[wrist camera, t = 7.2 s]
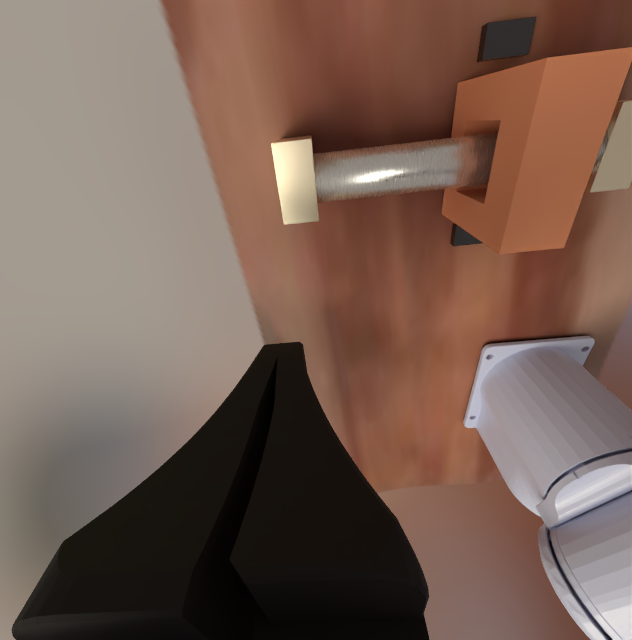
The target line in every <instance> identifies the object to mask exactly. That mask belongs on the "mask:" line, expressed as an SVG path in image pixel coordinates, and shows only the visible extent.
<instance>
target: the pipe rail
mask: <svg viewBox="0 0 632 640" xmlns="http://www.w3.org/2000/svg"><path fill="white" fill-rule="evenodd" d="M535 21H536V17H530V18H523V19H515V20H507V21H500V22H492V23H487V24H485V25H484V26H482V32H481V39H480V46H479V52H478V59H477V62H480V61H488V60H496V59H504V58H511V57H519V56H524V55H527V54H528V53H529V48H530V44H531V39H532V34H533V30H534V25H535ZM498 132H499V131H496V132H495V133H489V134H480V135H471V136H463V137H454V138H445V139H437V140H428V141H420V142H411V143H402V144H394V145H385V146H376V147H368V148H359V149H350V150H342V151H333V152H324V153H316V154H313V146H312V135H310V136H301V137H293V138H284V139H279V140H277V141H275V142H273V143H271V146H272V152H273V159H274V165H275V171H276V178H277V184H278V190H279V197H280V203H281V209H282V216H283V222H284V225H285V224H295V223H304V222H314V221H319V214H318V203H319V202H328V201H338V200H347V199H356V198H365V197H375V196H384V195H393V194H402V193H412V192H421V191H430V190H439V189H449V188H458V187H467V186H477V185H486V184H488V183H489V178H490V172H491V167H492V162H493V157H494V152H495V147H496V142H497V137H498ZM631 181H632V99H630V100H617V103H616V106H615V109H614V111H613V114H612V117H611V120H610V122H609V125H608V128H607V131H606V133H605V136H604V139H603V142H602V144H601V147H600V150H599V153H598V155H597V158H596V161H595V164H594V167H593V169H592V172H591V175H590V178H589V180H588V183H587V186H586V189H585V191H586V192H599V191H609V190H618V189H628V188H629V186H630V183H631ZM450 243H451V244H452V245H453V246H459V245H469V244H479V243H483V242H481V241H480V240H478V239H477V238H475V237H474V236H472V235H471V234H470V233H468V232H467V231H465V230H464V229H462V228H461V227H460V226H458V225H457V224H453V228H452V235H451V242H450Z"/></svg>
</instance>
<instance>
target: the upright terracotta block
mask: <svg viewBox="0 0 632 640" xmlns="http://www.w3.org/2000/svg"><path fill="white" fill-rule="evenodd" d="M631 62H632V47H628V48H620V49H612V50H604V51H597V52H589V53H581V54H573V55H565V56H557V57H549V58H544V59H541V60H537V61H534V62H530V63H527V64H523V65H520V66H516V67H512V68H509V69H505V70H502V71H498V72H495V73H491V74H488V75H484V76H480V77H477V78H473V79H470V80H466V81H463V82H459V83H458V86H457V94H456V102H455V110H454V118H453V126H452V134H451V138H454V137H463V136H471V135H480V134H489V133H495V132H496V131H499V132H498V137H497V142H496V147H495V152H494V157H493V162H492V167H491V172H490V178H489V183H488V184H486V185H477V186H467V187H458V188H449V189H445V191H444V199H443V207H442V215H444V216H445V217H447V218H448V219H450V220H451V221H452V222H454V223H455V224H457V225H458V226H460V227H461V228H462V229H464V230H465V231H467V232H468V233H470V234H471V235H472V236H474V237H475V238H477V239H478V240H480V241H481V242H483V243H484V244H485V245H487V246H488V247H490V248H491V249H493V250H494V251H495V252H497V253H498V254H507V253H517V252H527V251H537V250H548V249H558V248H564V246H565V244H566V241H567V238H568V235H569V233H570V230H571V227H572V224H573V222H574V219H575V216H576V213H577V211H578V208H579V205H580V202H581V200H582V197H583V194H584V191H585V189H586V186H587V183H588V180H589V178H590V175H591V172H592V169H593V167H594V164H595V161H596V158H597V155H598V153H599V150H600V147H601V144H602V142H603V139H604V136H605V133H606V131H607V128H608V125H609V122H610V120H611V117H612V114H613V111H614V109H615V106H616V103H617V100H618V98H619V95H620V92H621V89H622V87H623V84H624V81H625V78H626V76H627V73H628V70H629V67H630V65H631Z"/></svg>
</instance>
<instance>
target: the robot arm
mask: <svg viewBox="0 0 632 640" xmlns="http://www.w3.org/2000/svg"><path fill="white" fill-rule="evenodd" d="M594 343H595V340H594V339H593V338H592V337H590V336H578V337H566V338H554V339H543V340H531V341H519V342H507V343H495V344H488V345H486V346H484V347H483V349H482V352H481V356H480V360H479V364H478V368H477V371H476V375H475V379H474V383H473V387H472V391H471V395H470V398H469V402H468V406H467V410H466V414H465V418H464V422H463V423H464V425H465V427H467V428H477V430H478V432H479V433H480V435H481V437H482V439H483V441H484V443H485V445H486V446H487V448H488V450H489V452H490V454H491V456H492V458H493V459H494V461H495V463H496V465H497V467H498V469H499V471H500V472H501V474H502V476H503V478H504V480H505V482H506V483H507V485H508V487H509V488H510V490H511V492H512V493H513V494H514V495H515V497H516V498H517V499H518V500H519V501H520V502H521V503H522V504H523V505H525V506H526V507H527V508H528V509H529V510H531V511H532V512H534V513H535V514H536V515H538V516H540V517H541V518H542V519H543V521H544V523H545V524H544V525H542V526H541V527H540V529H539V531H538V544H539V548H540V555H541V559H542V563H543V566H544V569H545V571H546V573H547V576H548V578H549V580H550V582H551V584H552V586H553V588H554V590H555V591H556V593H557V595H558V597H559V598H560V600H561V602H562V603H563V605H564V606H565V608H566V609H567V611H568V612H569V614H570V615H571V616H572V618H573V619H574V620H575V621H576V623H577V624H578V625H579V627H580V628H581V629H582V630H583V631H584V633H585V634H586V635H587V636H588V637H589V638H590V639H591V640H632V410H631V409H630V408H628V407H627V406H626V405H625V404H624V403H623V402H622V401H621V400H620V399H618V398H617V397H616V396H615V395H614V394H613V393H612V392H610V391H609V390H608V389H607V388H606V387H605V386H604V385H603V384H602V383H601V382H599V381H598V380H597V379H596V378H595V377H594V376H593V375H592V374H591V373H589V372H588V371H587V370H586V369H585V368H584V367H583V364H584V363H585V361H586V359H587V357H588V355H589V353H590V351H591V349H592V347H593V345H594ZM488 355H489V356H488ZM428 598H429V592H428V586H427V583H426V580H425V577H424V574H423V571H422V569H421V566H420V564H419V562H418V559H417V557H416V555H415V553H414V551H413V549H412V547H411V545H410V543H409V541H408V539H407V537H406V535H405V533H404V531H403V529H402V528H401V526H400V524H399V522H398V520H397V518H396V517H395V515H394V514H393V513H392V512H391V511H390V509H389V508H388V507H387V506H386V504H385V503H384V502H383V501H382V499H381V498H380V497H379V496H378V494H377V493H376V492H375V490H374V489H373V488H372V487H371V485H370V484H369V482H368V481H367V480H366V478H365V477H364V476H363V474H362V473H361V472H360V470H359V469H358V467H357V466H356V464H355V463H354V461H353V460H352V458H351V457H350V455H349V454H348V452H347V451H346V449H345V448H344V446H343V445H342V443H341V442H340V440H339V438H338V437H337V435H336V433H335V432H334V430H333V428H332V426H331V425H330V423H329V421H328V419H327V417H326V415H325V413H324V411H323V409H322V407H321V405H320V403H319V401H318V399H317V397H316V394H315V392H314V390H313V387H312V385H311V382H310V379H309V376H308V374H307V368H306V361H305V355H304V349H303V344H302V343H300V342H292V343H280V344H269V345H264V346H263V347H262V349H261V350H260V352H259V353H258V355H257V357H256V358H255V359H254V361H253V362H252V364H251V365H250V367H249V368H248V370H247V371H246V373H245V374H244V376H243V377H242V379H241V380H240V381H239V383H238V384H237V385H236V387H235V388H234V389H233V391H232V392H231V393H230V394H229V396H228V397H227V398H226V399H225V401H224V402H223V403H222V404H221V406H220V407H219V408H218V409H217V411H216V412H215V413H214V414H213V415H212V416H211V417H210V419H209V420H208V421H207V422H206V423H205V424H204V425H203V426H202V427H201V429H199V431H198V432H197V433H196V434H195V435H194V436H193V437H192V438H191V439H190V440H189V441H188V442H187V443H186V444H185V445H184V446H183V447H182V448H181V449H179V450H178V451H177V452H176V453H175V454H174V455H173V456H172V457H171V458H170V459H169V460H168V461H166V462H165V463H164V464H163V465H162V466H161V467H160V468H159V469H157V470H156V471H155V472H154V473H153V474H152V475H150V476H149V477H148V478H147V479H146V480H144V481H143V482H142V483H141V484H140V485H138V486H137V487H136V488H135V489H133V490H132V491H131V492H130V493H128V494H127V495H126V496H125V497H123V498H122V499H121V500H119V501H118V502H117V503H116V504H114V505H113V506H112V507H110V508H109V509H107V510H106V511H105V512H103V513H102V514H101V515H99V516H98V517H96V518H95V519H94V520H92V521H91V522H90V523H88V524H87V525H86V526H84V527H83V528H81V529H80V530H79V531H77V532H76V533H75V534H73V535H72V536H70V537H69V538H68V539H66V540H65V541H64V542H63V543H62V544H61V546H60V547H59V549H58V551H57V552H56V554H55V555H54V557H53V559H52V560H51V562H50V564H49V565H48V567H47V569H46V570H45V572H44V574H43V575H42V577H41V579H40V581H39V582H38V584H37V585H36V587H35V589H34V590H33V592H32V594H31V595H30V597H29V599H28V600H27V602H26V604H25V606H24V607H23V609H22V611H21V612H20V614H19V616H18V617H17V619H16V621H15V622H14V624H13V627H12V634H13V637H14V638H15V639H16V640H429V635H428V631H427V627H426V622H425V618H424V611H425V608H426V604H427V601H428Z"/></svg>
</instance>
